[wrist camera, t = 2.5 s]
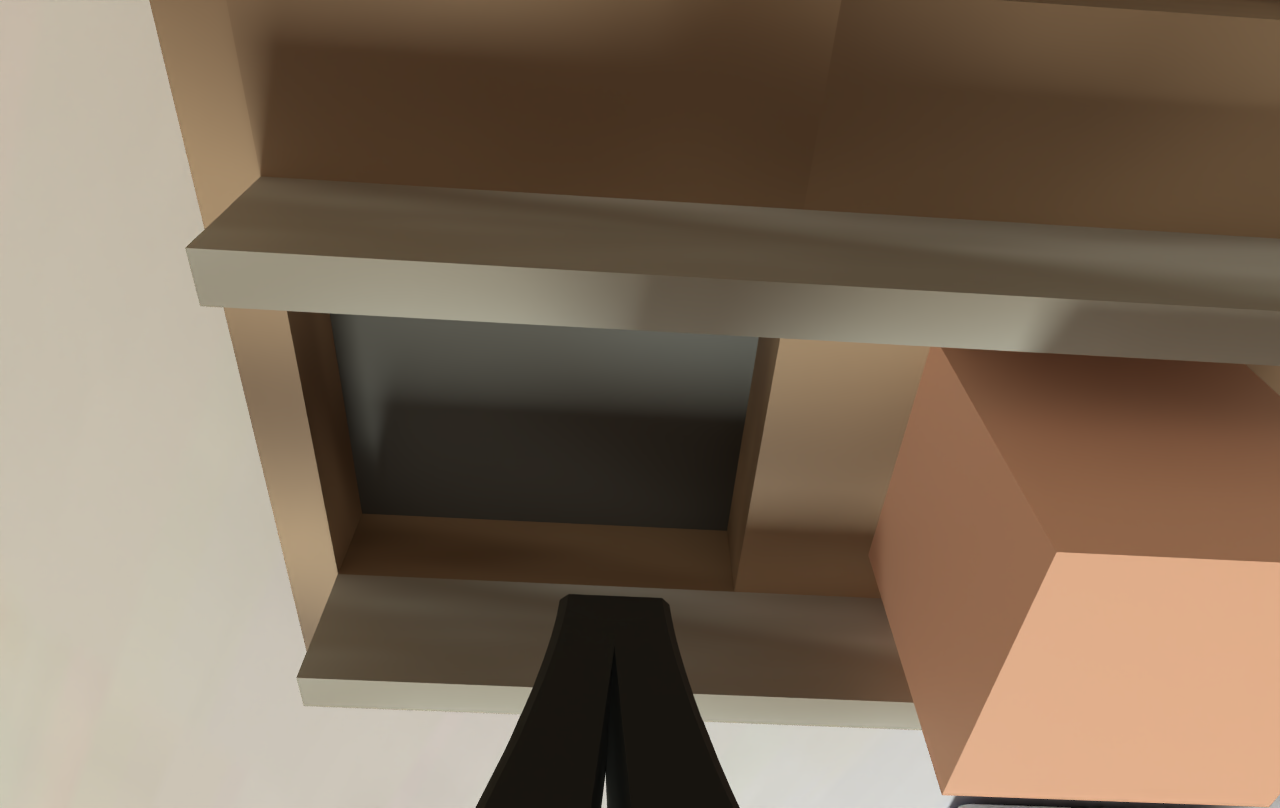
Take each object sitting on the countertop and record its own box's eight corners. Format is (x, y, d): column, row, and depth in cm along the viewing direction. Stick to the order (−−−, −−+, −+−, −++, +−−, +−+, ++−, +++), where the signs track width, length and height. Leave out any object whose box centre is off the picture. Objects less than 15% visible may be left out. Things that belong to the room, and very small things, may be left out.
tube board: (1519, 672, 22) (1698, 846, 18) (341, 622, 21) (277, 796, 17) (2136, 61, 13) (2707, 154, 10) (202, -77, 12) (14, -32, 9)
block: (1116, 566, 17) (1268, 807, 13) (867, 554, 17) (942, 795, 13) (1231, 351, 14) (1473, 571, 10) (933, 334, 14) (1056, 552, 10)
